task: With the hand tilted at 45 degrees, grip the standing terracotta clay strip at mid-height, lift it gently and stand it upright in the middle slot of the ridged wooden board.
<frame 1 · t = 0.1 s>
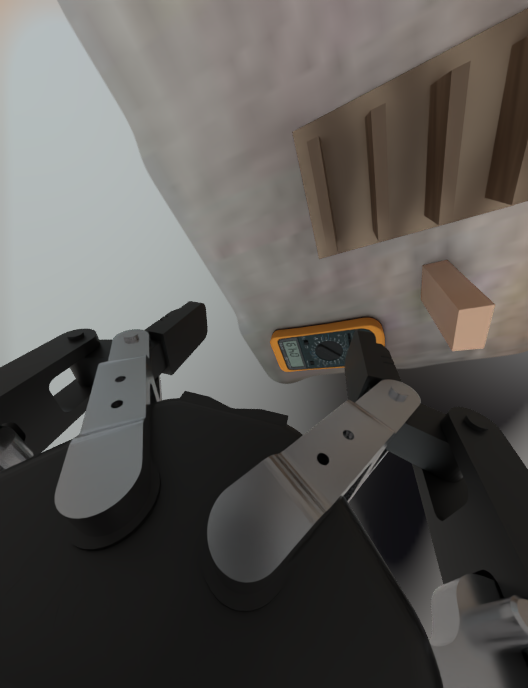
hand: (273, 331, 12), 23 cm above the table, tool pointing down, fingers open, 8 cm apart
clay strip: (433, 280, 29), on the table
multimeter: (325, 339, 40), on the table
ridged wooden board: (399, 167, 23), on the table
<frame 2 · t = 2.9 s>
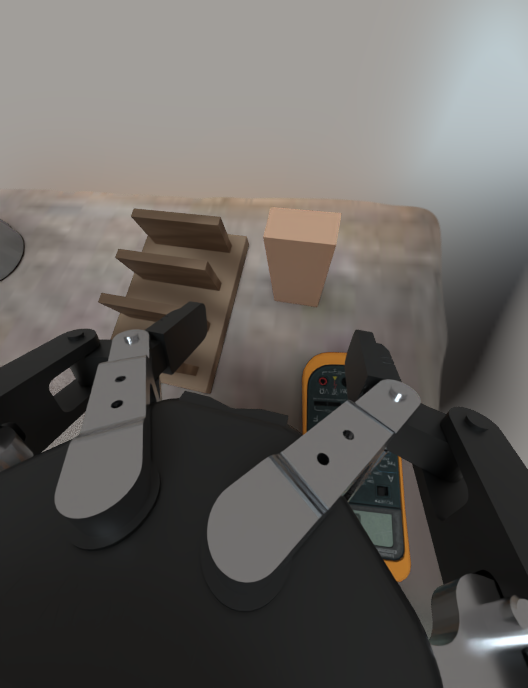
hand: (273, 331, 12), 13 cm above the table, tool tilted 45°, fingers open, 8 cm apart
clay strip: (297, 294, 26), on the table
multimeter: (342, 445, 22), on the table
ridged wooden board: (181, 305, 27), on the table
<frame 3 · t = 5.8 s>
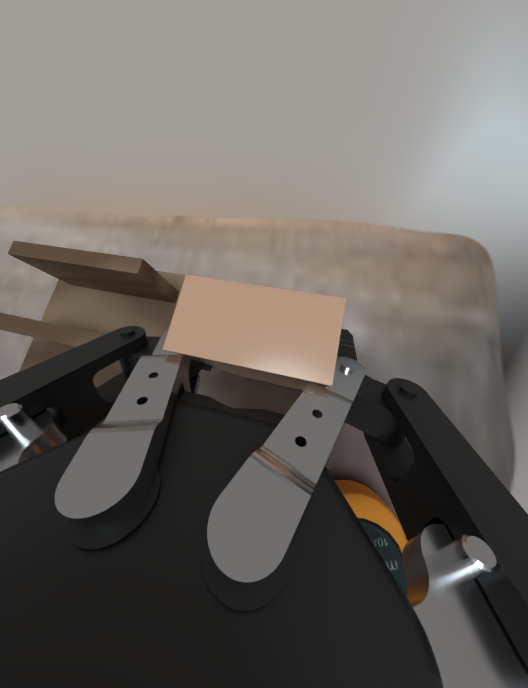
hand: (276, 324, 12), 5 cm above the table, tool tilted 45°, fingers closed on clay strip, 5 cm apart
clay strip: (276, 367, 17), on the table, touching gripper
multimeter: (339, 635, 14), on the table
ridged wooden board: (106, 377, 19), on the table
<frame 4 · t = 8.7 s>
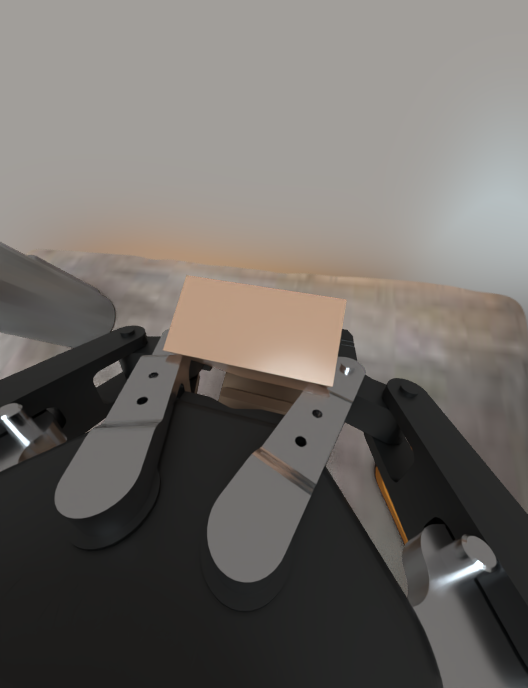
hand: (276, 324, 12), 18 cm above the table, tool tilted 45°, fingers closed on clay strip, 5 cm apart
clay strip: (276, 367, 17), point 13 cm above the table, touching gripper
multimeter: (437, 530, 24), on the table
ridged wooden board: (275, 381, 29), on the table
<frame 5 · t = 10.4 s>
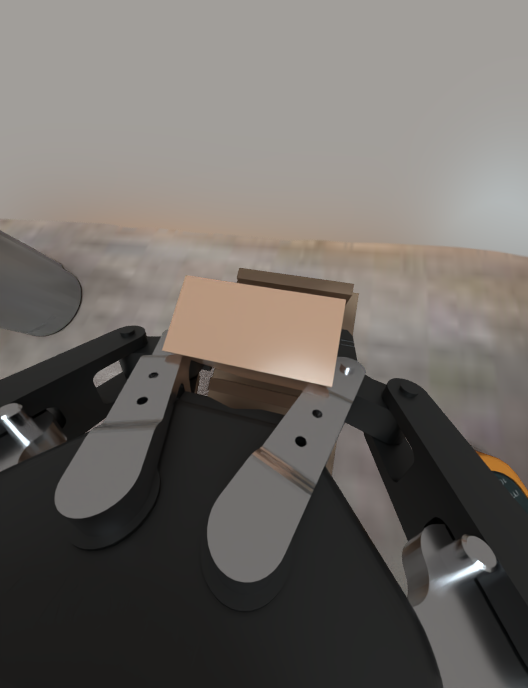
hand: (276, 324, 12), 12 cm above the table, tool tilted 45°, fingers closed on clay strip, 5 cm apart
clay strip: (276, 367, 17), point 7 cm above the table, touching gripper
multimeter: (488, 560, 19), on the table
ridged wooden board: (279, 372, 24), on the table
when the fingers open (8 cm above the table, at t = 11.7 s): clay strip drops 1 cm, resting on ridged wooden board.
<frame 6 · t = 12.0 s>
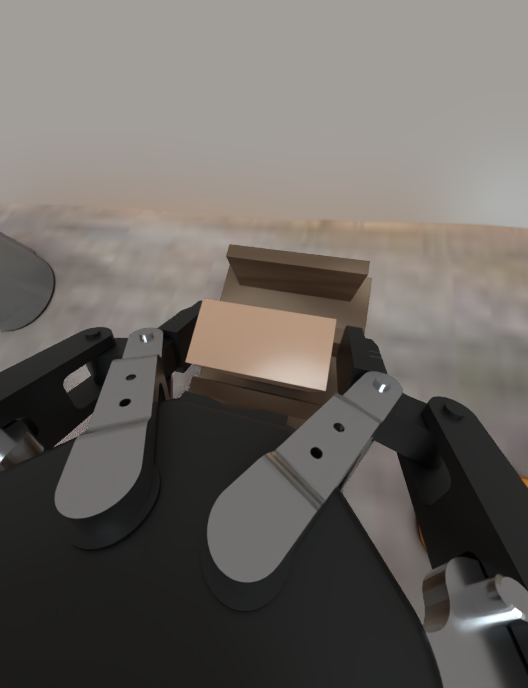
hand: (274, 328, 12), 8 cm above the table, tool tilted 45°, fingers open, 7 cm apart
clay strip: (277, 371, 19), point 2 cm above the table, touching ridged wooden board
ridged wooden board: (278, 371, 20), on the table
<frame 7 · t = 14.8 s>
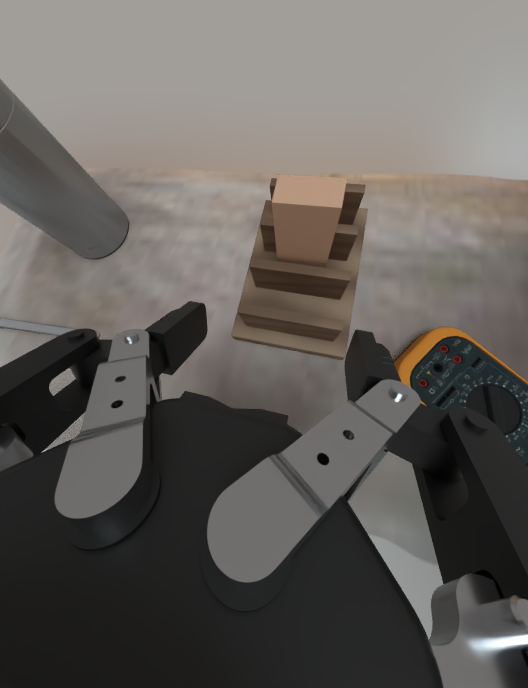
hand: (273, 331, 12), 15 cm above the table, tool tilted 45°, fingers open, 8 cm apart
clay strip: (301, 271, 27), point 1 cm above the table, touching ridged wooden board
multimeter: (471, 411, 23), on the table
caliper: (39, 330, 32), on the table
ridged wooden board: (300, 276, 28), on the table
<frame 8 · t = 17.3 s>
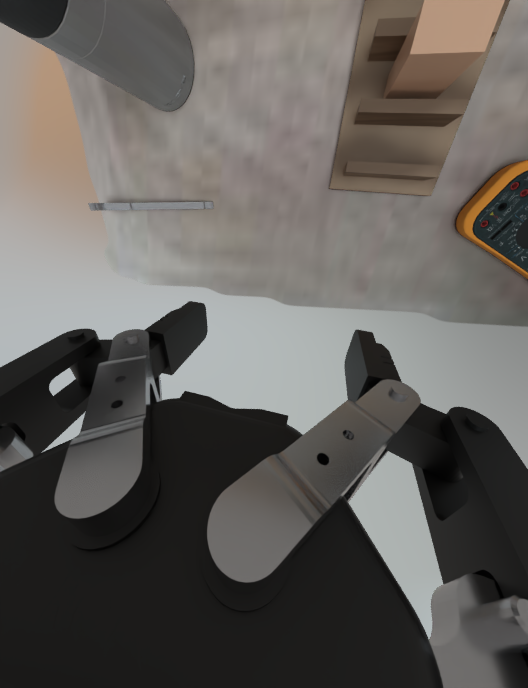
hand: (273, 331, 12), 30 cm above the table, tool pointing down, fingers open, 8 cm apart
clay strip: (408, 90, 25), point 1 cm above the table, touching ridged wooden board
multimeter: (525, 229, 30), on the table
caliper: (161, 205, 39), on the table
ridged wooden board: (404, 93, 26), on the table
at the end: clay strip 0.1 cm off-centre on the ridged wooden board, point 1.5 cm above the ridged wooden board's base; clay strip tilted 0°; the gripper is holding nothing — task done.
